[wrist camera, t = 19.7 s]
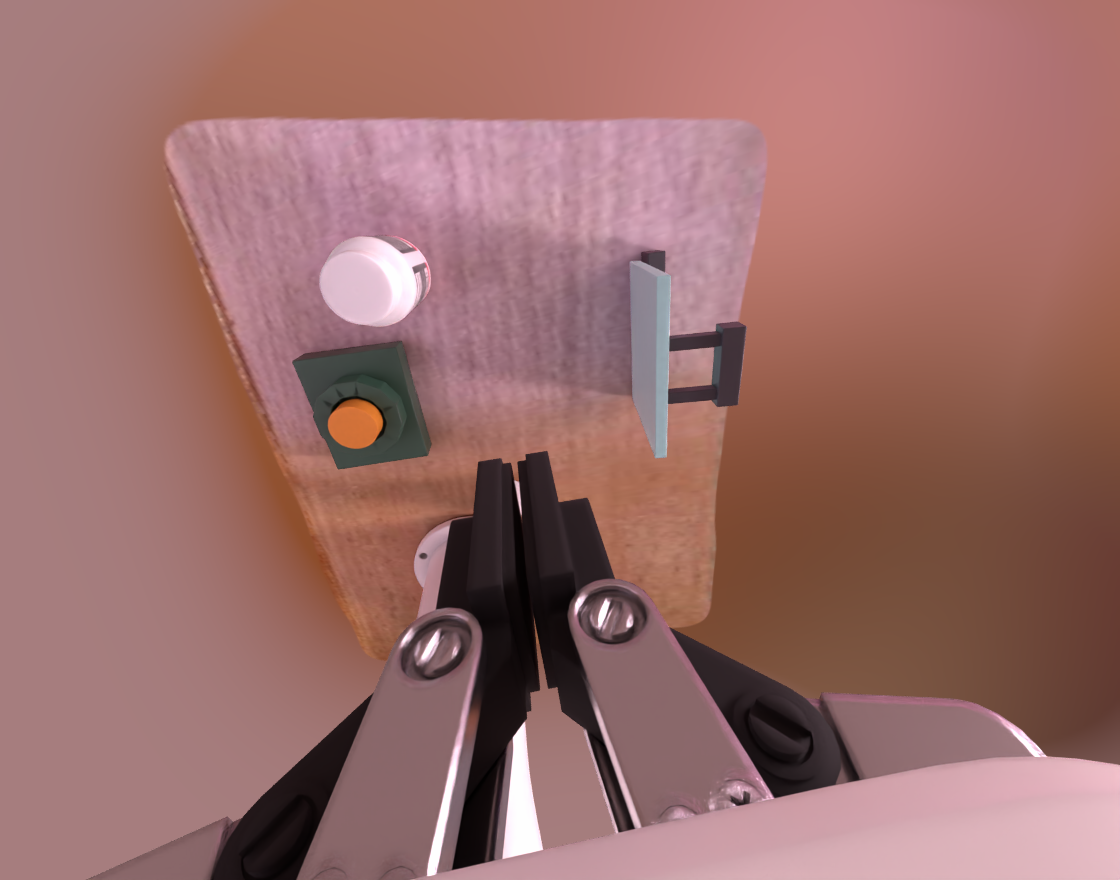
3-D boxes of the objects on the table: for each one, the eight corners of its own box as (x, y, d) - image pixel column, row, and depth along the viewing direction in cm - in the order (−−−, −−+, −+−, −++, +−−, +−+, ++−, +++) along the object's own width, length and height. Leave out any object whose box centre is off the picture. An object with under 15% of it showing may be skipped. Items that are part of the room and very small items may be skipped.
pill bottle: (343, 265, 31) (282, 277, 22) (395, 219, 30) (353, 213, 21) (396, 323, 33) (359, 354, 24) (446, 282, 32) (426, 300, 24)
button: (389, 435, 34) (383, 445, 32) (344, 442, 33) (337, 452, 32) (375, 395, 32) (369, 403, 30) (328, 402, 32) (319, 410, 30)
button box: (431, 444, 38) (424, 466, 35) (346, 457, 38) (330, 480, 34) (401, 340, 34) (390, 353, 30) (303, 353, 33) (280, 367, 30)
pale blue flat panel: (632, 399, 38) (691, 393, 38) (655, 458, 28) (735, 452, 28) (629, 261, 32) (698, 253, 32) (656, 276, 23) (756, 265, 22)
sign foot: (656, 396, 39) (663, 403, 38) (642, 398, 39) (648, 405, 38) (657, 250, 33) (665, 251, 32) (641, 252, 33) (648, 253, 32)
